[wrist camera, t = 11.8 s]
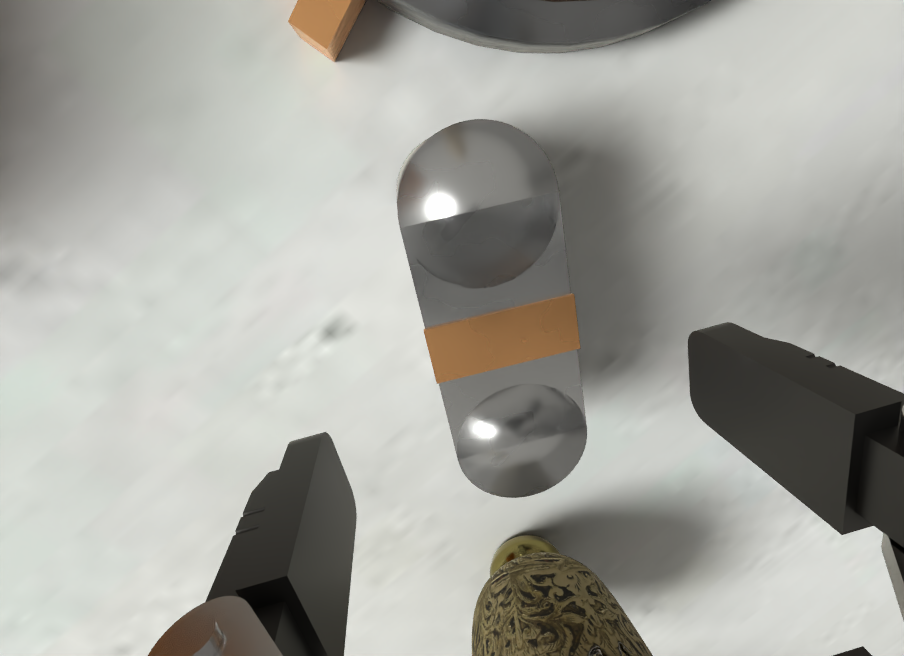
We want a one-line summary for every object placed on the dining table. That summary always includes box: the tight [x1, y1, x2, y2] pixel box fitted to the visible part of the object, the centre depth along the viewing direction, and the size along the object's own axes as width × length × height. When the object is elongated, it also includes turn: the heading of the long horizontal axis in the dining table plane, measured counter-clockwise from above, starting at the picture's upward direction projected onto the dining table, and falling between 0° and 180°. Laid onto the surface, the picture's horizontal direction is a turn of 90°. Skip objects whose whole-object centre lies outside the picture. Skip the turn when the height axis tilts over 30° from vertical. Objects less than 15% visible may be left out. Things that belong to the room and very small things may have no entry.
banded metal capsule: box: [396, 119, 587, 498], centre depth 15 cm, size 4×11×6 cm, turn 12°
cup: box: [472, 535, 653, 656], centre depth 19 cm, size 8×7×8 cm
